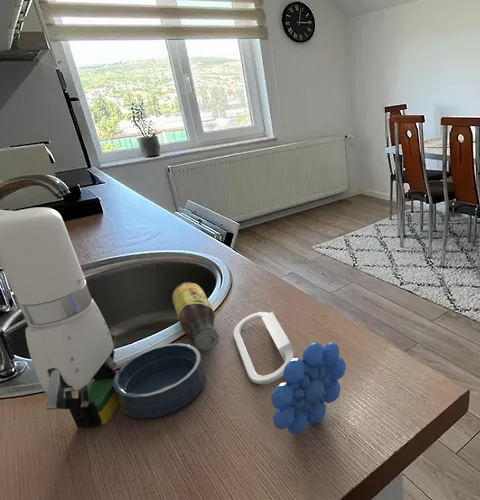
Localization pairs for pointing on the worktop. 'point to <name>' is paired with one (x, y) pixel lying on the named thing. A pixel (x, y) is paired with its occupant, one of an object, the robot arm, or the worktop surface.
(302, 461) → the worktop surface
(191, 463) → the worktop surface
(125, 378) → the bowl
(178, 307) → the sauce bottle
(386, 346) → the worktop surface
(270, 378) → the oval loop handle
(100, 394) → the sponge
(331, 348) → the blue flower ornament
